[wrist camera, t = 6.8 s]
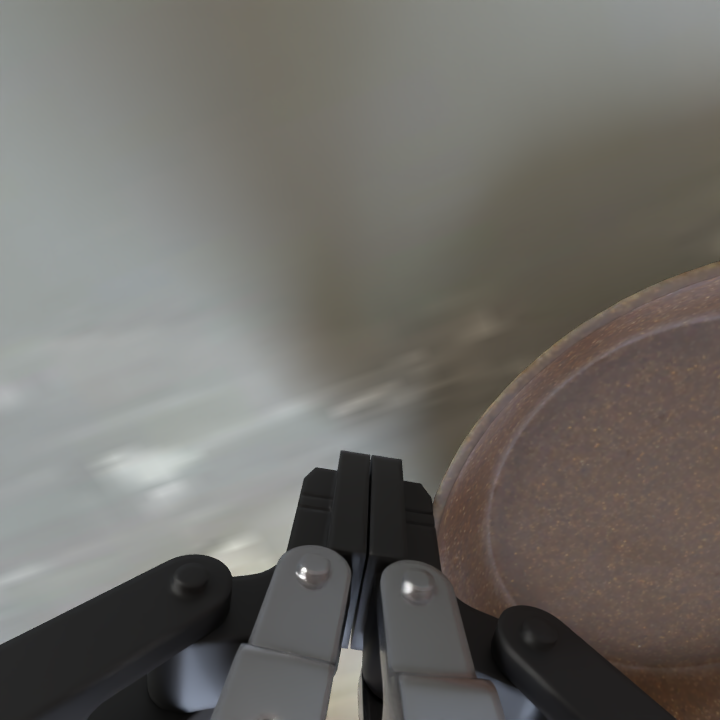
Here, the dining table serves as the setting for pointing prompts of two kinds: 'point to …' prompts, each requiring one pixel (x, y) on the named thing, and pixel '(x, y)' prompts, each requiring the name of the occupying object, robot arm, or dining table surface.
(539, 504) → the saucer
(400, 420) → the dining table surface
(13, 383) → the dining table surface
